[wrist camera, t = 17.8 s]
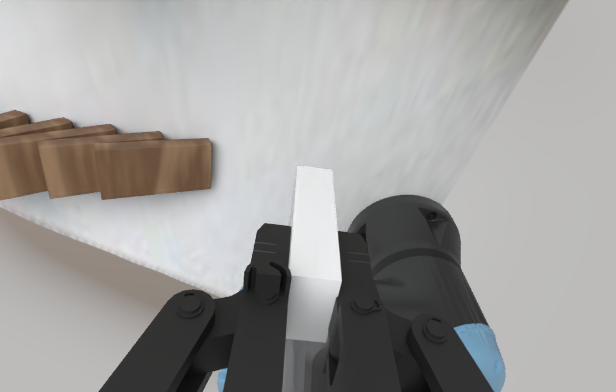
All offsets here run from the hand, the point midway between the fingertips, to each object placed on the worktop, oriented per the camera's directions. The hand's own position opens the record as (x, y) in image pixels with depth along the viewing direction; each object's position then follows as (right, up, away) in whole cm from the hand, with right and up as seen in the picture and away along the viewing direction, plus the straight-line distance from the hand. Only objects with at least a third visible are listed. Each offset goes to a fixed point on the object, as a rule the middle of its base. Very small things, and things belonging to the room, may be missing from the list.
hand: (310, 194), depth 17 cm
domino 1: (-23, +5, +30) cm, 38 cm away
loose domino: (-12, +4, +30) cm, 33 cm away
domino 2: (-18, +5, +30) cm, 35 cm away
